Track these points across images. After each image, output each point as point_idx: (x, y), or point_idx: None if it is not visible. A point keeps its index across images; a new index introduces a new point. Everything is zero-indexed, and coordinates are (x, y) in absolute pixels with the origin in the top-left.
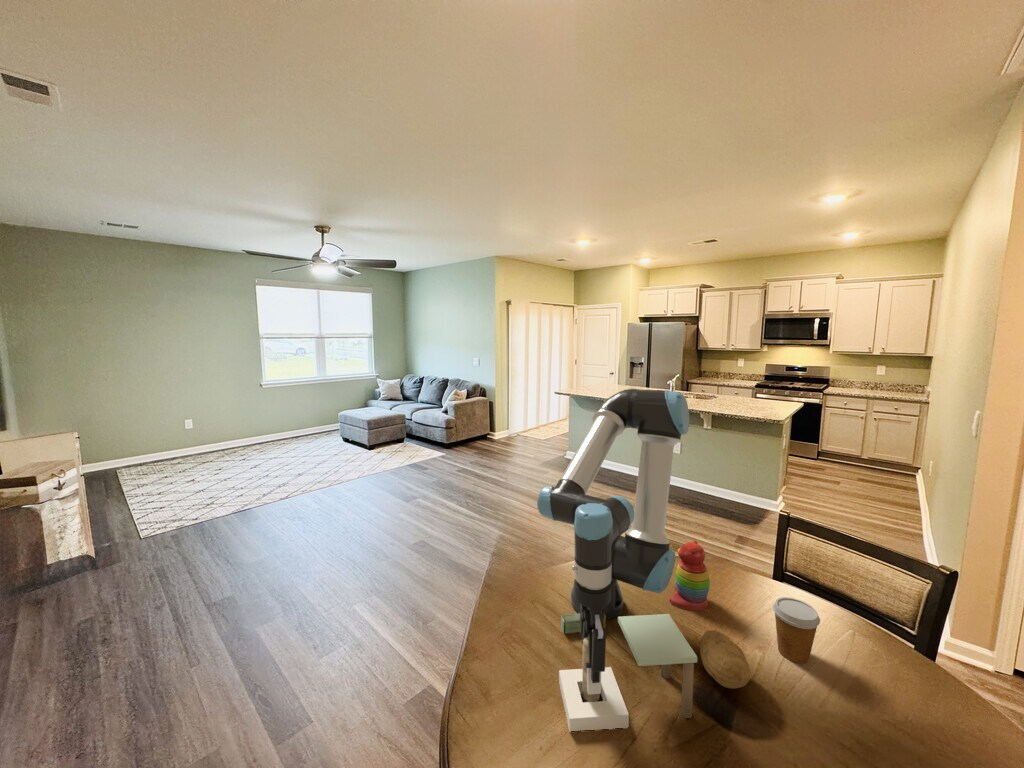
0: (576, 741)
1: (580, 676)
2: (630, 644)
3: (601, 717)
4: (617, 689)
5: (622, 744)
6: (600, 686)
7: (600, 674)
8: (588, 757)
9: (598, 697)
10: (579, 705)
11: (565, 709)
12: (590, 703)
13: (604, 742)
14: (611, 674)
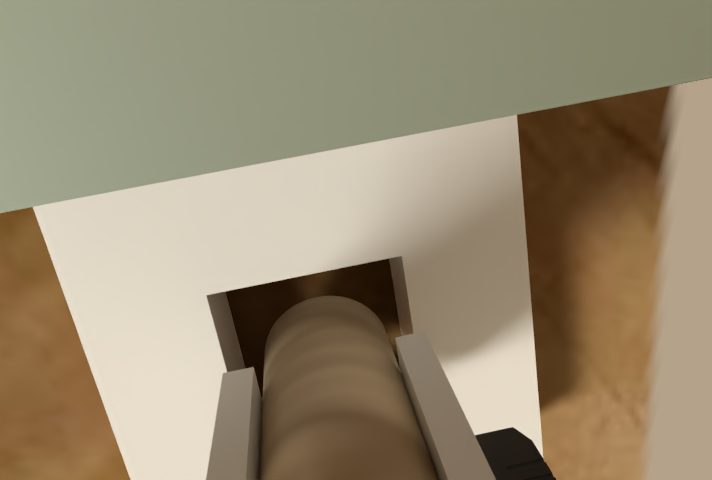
0: (560, 393)
1: (196, 437)
2: (345, 140)
3: (529, 299)
4: (283, 164)
5: (583, 147)
6: (442, 369)
7: (480, 448)
8: (645, 336)
9: (362, 310)
10: None
11: None
12: None
13: (569, 251)
14: (124, 198)
